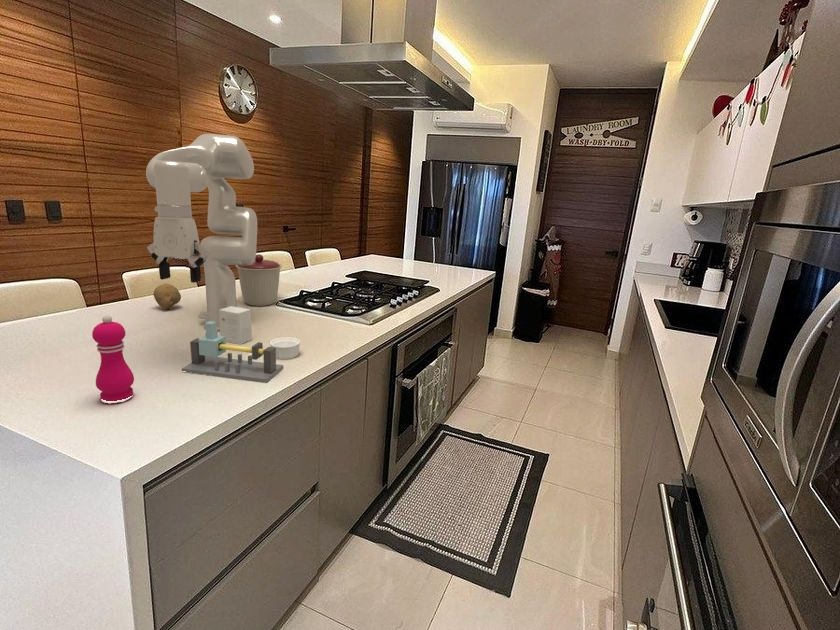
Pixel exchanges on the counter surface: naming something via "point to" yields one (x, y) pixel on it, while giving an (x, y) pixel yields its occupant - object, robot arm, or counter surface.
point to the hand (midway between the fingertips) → (180, 279)
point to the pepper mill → (112, 361)
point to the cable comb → (235, 363)
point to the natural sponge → (166, 295)
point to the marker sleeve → (211, 341)
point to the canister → (259, 281)
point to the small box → (235, 324)
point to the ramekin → (286, 347)
